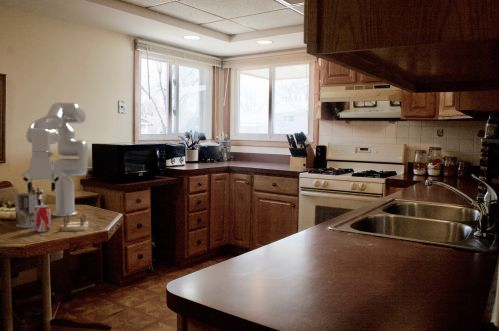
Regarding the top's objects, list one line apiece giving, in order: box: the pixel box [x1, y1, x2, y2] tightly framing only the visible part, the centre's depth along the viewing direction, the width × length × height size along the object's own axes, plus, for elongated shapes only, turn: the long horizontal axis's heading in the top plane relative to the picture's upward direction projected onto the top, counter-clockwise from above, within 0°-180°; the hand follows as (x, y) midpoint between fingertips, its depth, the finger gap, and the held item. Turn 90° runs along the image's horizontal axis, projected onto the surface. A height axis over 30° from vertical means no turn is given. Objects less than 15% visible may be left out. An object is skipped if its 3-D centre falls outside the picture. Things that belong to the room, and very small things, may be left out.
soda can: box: [33, 204, 52, 233], centre depth 198 cm, size 7×7×12 cm
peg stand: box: [60, 213, 89, 232], centre depth 205 cm, size 11×11×6 cm
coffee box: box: [14, 192, 40, 229], centre depth 207 cm, size 9×6×16 cm
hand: (41, 191), depth 197 cm, fingers open, 9 cm apart
